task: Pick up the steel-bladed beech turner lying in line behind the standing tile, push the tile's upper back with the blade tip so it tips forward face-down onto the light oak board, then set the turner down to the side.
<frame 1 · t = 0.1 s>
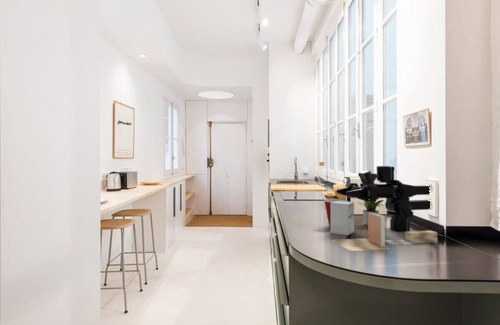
hand: (341, 192, 122), 17 cm above the countertop, tool horizontal, fingers open, 9 cm apart
plastic cup: (336, 227, 135), on the countertop
board: (359, 245, 104), on the countertop
tile: (376, 243, 104), point 1 cm above the countertop, touching board
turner: (410, 243, 106), on the countertop
house plant: (368, 224, 139), on the countertop
supplement box: (342, 234, 122), on the countertop
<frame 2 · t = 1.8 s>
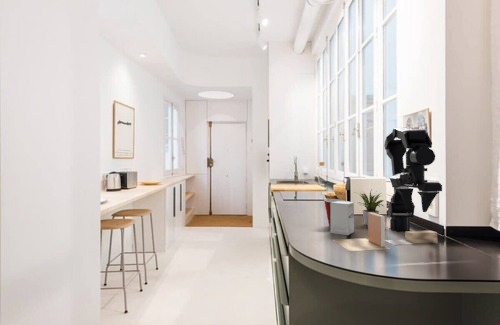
hand: (415, 209, 106), 12 cm above the countertop, tool pointing down, fingers open, 9 cm apart
nothing on the countertop moved.
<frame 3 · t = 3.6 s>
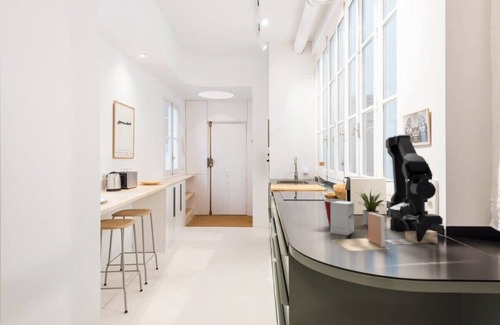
hand: (415, 240, 106), 1 cm above the countertop, tool pointing down, fingers closed on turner, 3 cm apart
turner: (410, 243, 106), on the countertop, touching gripper
everything else where it was.
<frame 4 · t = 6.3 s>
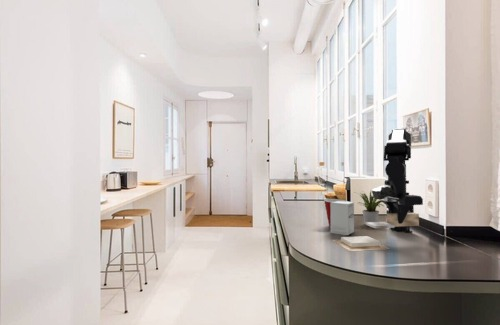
hand: (397, 222, 105), 7 cm above the countertop, tool pointing down, fingers closed on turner, 3 cm apart
tile: (373, 241, 104), point 1 cm above the countertop, tilted 90°, touching board
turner: (392, 225, 105), point 6 cm above the countertop, touching gripper
everything else where it was.
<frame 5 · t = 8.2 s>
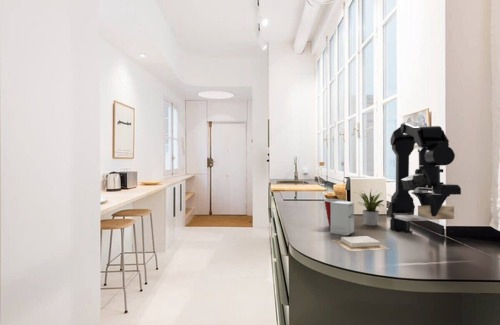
hand: (430, 215, 96), 12 cm above the countertop, tool pointing down, fingers closed on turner, 3 cm apart
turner: (424, 218, 95), point 11 cm above the countertop, touching gripper
everything else where it was.
when the fingers open (2 cm above the countertop, at t = 9.9 s): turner drops 2 cm, on the countertop.
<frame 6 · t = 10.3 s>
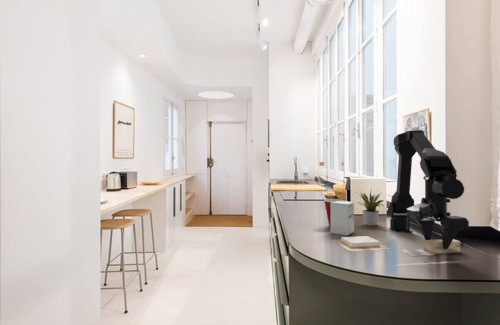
hand: (436, 245, 94), 2 cm above the countertop, tool pointing down, fingers open, 7 cm apart
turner: (430, 254, 94), on the countertop
everything else where it was.
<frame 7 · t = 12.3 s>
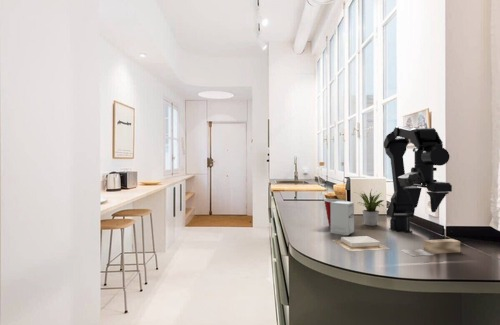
hand: (423, 209, 105), 12 cm above the countertop, tool pointing down, fingers open, 9 cm apart
nothing on the countertop moved.
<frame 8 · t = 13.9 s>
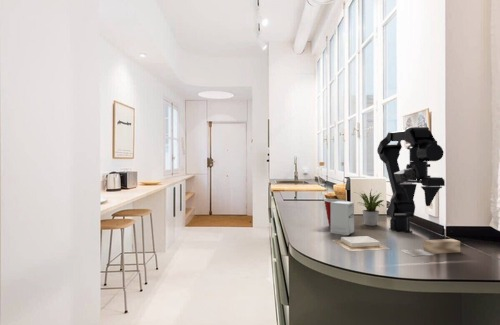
hand: (418, 204, 111), 13 cm above the countertop, tool pointing down, fingers open, 9 cm apart
nothing on the countertop moved.
at the end: tile tilted 90°; tile touching board; the gripper is holding nothing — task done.
